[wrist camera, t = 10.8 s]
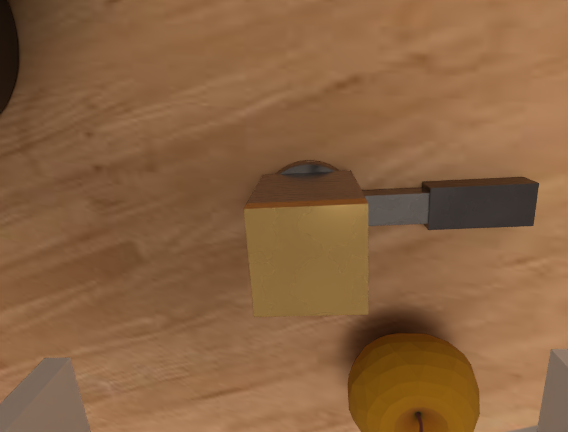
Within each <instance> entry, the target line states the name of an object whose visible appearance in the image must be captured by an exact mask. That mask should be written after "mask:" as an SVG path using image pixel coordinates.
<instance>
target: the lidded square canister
mask: <svg viewBox="0 0 568 432" xmlns="http://www.w3.org/2000/svg"><path fill="white" fill-rule="evenodd" d="M244 219H245V229H246V239H247V249H248V259H249V270H250V280H251V290H252V300H253V310H254V317H277V316H323V315H368V202H367V200H366V198H365V196H364V194H363V193H362V191H361V189H360V187H359V185H358V183H357V181H356V179H355V177H354V176H353V174H352V172H351V171H331V172H312V173H292V174H272V175H263V176H262V177H261V179H260V181H259V183H258V184H257V186H256V188H255V190H254V192H253V193H252V195H251V197H250V199H249V200H248V202H247V204H246V206H245V207H244Z"/></svg>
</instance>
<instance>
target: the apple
mask: <svg viewBox="0 0 568 432" xmlns="http://www.w3.org/2000/svg"><path fill="white" fill-rule="evenodd" d="M348 400H349V411H350V413H351V415H352V418H353V420H354V421H355V423H356V424H357V426H358V427H359V429H360V430H361V432H473V431H474V429H475V426H476V423H477V420H478V417H479V414H480V410H479V388H478V385H477V382H476V379H475V376H474V373H473V370H472V367H471V364H470V363H469V361H468V360H467V358H466V357H465V355H464V354H463V353H461V352H460V351H459V350H458V349H457V348H455V347H454V346H453V345H451V344H450V343H449V342H447V341H445V340H442V339H439V338H436V337H433V336H431V335H428V334H418V333H396V334H391V335H386V336H383V337H380V338H378V339H376V340H374V341H373V342H371V343H370V344H368V345H367V346H365V348H364V349H363V350H362V352H361V353H360V354H359V356H358V357H357V358H356V360H355V362H354V364H353V366H352V369H351V371H350V373H349V378H348Z"/></svg>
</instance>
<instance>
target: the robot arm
mask: <svg viewBox="0 0 568 432" xmlns="http://www.w3.org/2000/svg"><path fill="white" fill-rule="evenodd" d="M17 66H18V44H17V36H16V30H15V25H14V21H13V17H12V13H11V10H10V8H9V5H8V2H7V0H0V112H1V111H2V110H3V108H4V106H5V105H6V103H7V101H8V99H9V97H10V95H11V92H12V90H13V86H14V83H15V79H16V74H17ZM0 432H91V431H90V427H89V424H88V420H87V416H86V413H85V409H84V406H83V402H82V398H81V395H80V391H79V387H78V384H77V380H76V377H75V373H74V369H73V366H72V362H71V358H44V359H43V360H42V361H41V362H40V363H39V364H38V366H37V367H36V368H35V369H34V370H33V371H32V372H31V373H30V374H29V375H28V376H27V377H26V378H25V379H24V380H23V381H22V382H21V383H20V384H19V385H18V386H17V387H16V388H15V389H14V390H13V391H12V392H11V393H10V394H9V395H8V396H7V397H6V398H5V399H4V400H3V401H2V402H1V404H0ZM537 432H568V349H551V352H550V358H549V364H548V370H547V375H546V381H545V387H544V393H543V399H542V404H541V410H540V416H539V422H538V428H537Z"/></svg>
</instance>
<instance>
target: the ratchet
mask: <svg viewBox="0 0 568 432" xmlns="http://www.w3.org/2000/svg"><path fill="white" fill-rule="evenodd" d="M331 171H339V170H338V169H336V168H335V167H333V166H331V165H329V164H327V163H324V162H320V161H314V160H305V161H298V162H295V163H292V164H289V165H287V166H286V167H284V168H282V169H281V170H280V171H278V172H277V173H276V174H292V173H312V172H331ZM538 187H539V183H537V182H535V181H532V180H530V179H527V178H525V177H511V178H490V179H469V180H448V181H426V182H422V188H405V189H383V190H362V193H363V194H364V196H365V198H366V200H367V202H368V226H377V225H403V224H424V225H425V226H426V227H427V229H428V230H438V229H465V228H492V227H518V226H533V224H534V217H535V209H536V202H537V194H538Z"/></svg>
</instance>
